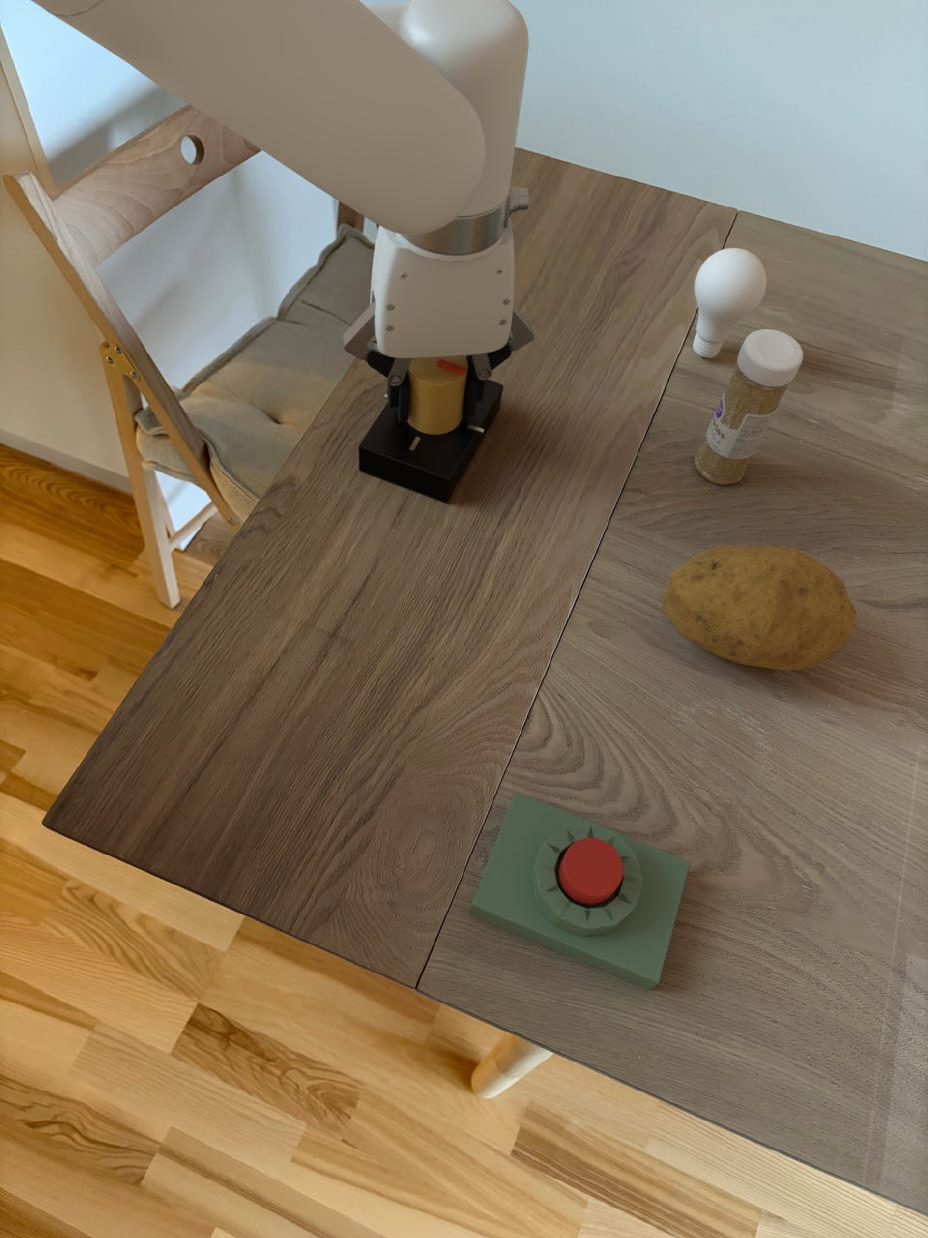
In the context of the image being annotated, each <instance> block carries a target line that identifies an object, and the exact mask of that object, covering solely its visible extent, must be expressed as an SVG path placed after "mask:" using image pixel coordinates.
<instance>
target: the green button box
mask: <svg viewBox="0 0 928 1238" xmlns="http://www.w3.org/2000/svg"><path fill="white" fill-rule="evenodd" d="M584 838H596V839H600V840H603V841H605V842H607V843H608V844H610V845H611V846H612V847H613V848H614V849H615V850H616V851H617V853H618V854H619V856H620V858H621V861H622V865H623V876H622V880H621V882H620V884H619V886H618V887H617V889H616V890H615V891H614V893H613V894H612V895H611V896H610V897H609V898H608V899H607V900H606V901H604V902H602V903H599V904H595V905H587V904H582V903H579V902H577V901H575V900H574V899H572V898H571V897H570V896H569V895H568V894H567V893H566V892H565V890H564V889H563V887H562V885H561V882H560V878H559V867H560V864H561V861H562V859H563V857H564V856H565V854H566V852H567V850H568V849H569V847H570V846H571V845H572V844H573V843H575V842H576V841H578V840H581V839H584ZM690 865H691V861H689V860H687V859H685V858H682V857H679V856H677V855H675V854H672V853H669V852H667V851H664V850H662V849H660V848H657V847H655V846H652V845H649V844H648V843H645V842H642V841H640V840H637V839H635V838H632V837H630V836H627V835H625V834H623V833H619V832H618V831H616V830H613V829H611V828H609V827H606V826H604V825H601V824H599V823H596V822H593V821H590V820H587V819H584V818H582V817H579V816H578V815H574V814H572V813H569V812H567V811H565V810H562V809H560V808H557V807H554V806H552V805H549V804H547V803H544V802H542V801H539V800H538V799H534V798H532V797H529V796H528V795H525V794H522V793H519V792H517V791H515V792H514V793H513V795H512V798H511V801H510V803H509V806H508V808H507V811H506V813H505V817H504V818H503V822H502V824H501V827H500V829H499V832H498V835H497V837H496V840H495V842H494V845H493V847H492V849H491V853H490V855H489V858H488V860H487V863H486V865H485V868H484V871H483V873H482V875H481V878H480V881H479V883H478V885H477V889H476V891H475V894H474V897H473V898H472V901H471V905H470V907H469V911H468V913H467V914H468V916H471V917H473V918H475V919H476V918H477V919H478V920H481V921H483V922H485V923H488V924H490V925H492V926H494V927H497V928H499V929H502V930H504V931H507V932H509V933H512V934H514V935H516V936H518V937H521V938H524V939H526V940H528V941H531V942H533V943H536V944H538V945H540V946H542V947H545V948H547V949H549V950H551V951H554V952H556V953H559V954H561V955H564V956H567V957H569V958H571V959H574V960H576V961H578V962H581V963H583V964H585V965H587V966H590V967H592V968H595V969H597V970H600V971H602V972H604V973H607V974H609V975H611V976H613V977H616V978H619V979H621V980H623V981H626V982H629V983H631V984H632V985H635V986H638V987H641V988H642V989H645V990H647V991H651V990H653V988H655V987H656V986H657V985H658V984H659V983H660V980H661V976H662V972H663V970H664V966H665V961H666V957H667V955H668V950H669V946H670V942H671V939H672V936H673V931H674V927H675V923H676V920H677V915H678V912H679V908H680V904H681V900H682V896H683V892H684V889H685V885H686V881H687V877H688V874H689V869H690Z"/></svg>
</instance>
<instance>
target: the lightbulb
mask: <svg viewBox="0 0 928 1238" xmlns="http://www.w3.org/2000/svg"><path fill="white" fill-rule="evenodd" d="M766 290H767V274H766V270H765V267H764V264H763V263H762V262H761V260H760V259H759V257H757V256H756V255H755V254H753V253H752V252H750V251H748V250H746V249H744V248H741V247H739V248H738V247H728V248H723V249H720V250H718V251H716V252H714V253H712V254H711V255H709V256H708V258H706V260H705V261H704V262H703V263H702V264H701V266H700V268H699V269H698V270H697V273H696V276H695V280H694V296H695V301H696V304H697V307H698V317H697V318H698V319H697V322H696V326H695V332H696V333H695V336H694V340H693V343H692V348H693V349H692V350H694V352H695V354H696V355H698V356H700V357H702V358H706V359H710V358H714V357H716V356H717V355H719V353H720V351H721V348H722V347H723V345H724V342H725V341H726V340H728V338H729V336H730V334H731V333H732V331H733V329H734V328H735V326H736V325H737V324H738V323H739V322H740V321H742V320H743V319H745V318H746V317H747V316H749V315H750V314H751V313H752V312H754V311H755V310H756V309H757V308H758V306H759V305H760V304H761V302H762V301H763V298H764V296H765V294H766Z"/></svg>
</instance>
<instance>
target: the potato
mask: <svg viewBox="0 0 928 1238" xmlns="http://www.w3.org/2000/svg"><path fill="white" fill-rule="evenodd" d="M662 608H663V610H664V612H665V613H666V615H667V617H668V618H669V620H670V622H671V623H672V625H673V627H674V629H675V630H676V631H677V633H678V634H679V636H680V637H682V638H684V640H685V639H686V640H687V641H689V642H690V643H692V644H694V645H696V646H697V647H699V648H701V649H703V650H705V651H707V652H709V653H711V654H713V655H715V656H717V657H719V658H722V659H724V660H727V661H730V662H733V663H735V664H739V665H746V666H752V667H757V668H766V669H772V670H779V671H802V670H805V669H809V668H813V667H816V666H818V665H820V664H823V663H824V662H826V661H827V660H829V659H830V658H831V657H833V656H835V655H836V654H837V653H839V652H841V650H842V649H843V648H844V647H845V646H846V644H847V643H848V641H849V639H850V636H851V634H852V632H853V630H854V627H855V625H856V616H857V615H856V614H857V611H856V609H855V608H854V605H853V604H852V602H851V599H850V597H849V595H848V592H847V589H846V586H845V583H844V581H842V580H841V578H840V577H839V576H838V575H837V574H836V573H835V572H834V571H833V570H832V569H831V568H830V567H828V566H826V565H824V564H823V563H821V562H820V561H818V559H815V558H814V557H812V556H810V555H808V554H806V553H805V552H803V551H801V550H799V549H798V548H795V547H788V546H783V545H777V544H767V545H764V544H763V545H726V546H721V547H715V548H708V549H705V550H704V551H701V552H700V553H699V554H697V555H696V556H694V557H692V558H691V559H689V560H688V561H687V562H684V563H683V564H682V565H680V566H678V567H677V568H676V569H674V570H672V572H671V573H670V576H669V578H668V581H667V584H666V586H665V589H664V592H663V595H662Z"/></svg>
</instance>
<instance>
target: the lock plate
mask: <svg viewBox="0 0 928 1238" xmlns="http://www.w3.org/2000/svg"><path fill="white" fill-rule="evenodd" d="M503 391H504V384H502V383H499V382H496V381H493V380H491V379H487V380H485V387H484V394H483V401H482V402H477V404H476V412H475V417H472V418H468V416H465V412H464V408H463V414H462V420H461V422H460V424H459V425H458V426H457V427H456V428H455V429H454V430H452V431H450V432H448V433H445V434H439V435H431V434H426V433H422V432H420V431H418V430H416V429H414V428H413V427H412V426H411V425H410V424H409V423H408V421H407V420H406V422H401V423H399V419H398V414H397V408H396V407H394V408H389V404H388V401H387V402H386V404H385V405H384V407H383V408H382V410H381V411H380V412H379V415H378V416H377V417H376V419H375V420H374V422H373V424H372V425H371V426H370V428H369V430H368V431H367V433H365V436H364V437H363V439H361V442H360V443H359V445H358V471H359V472H362V473H364V474H367V475H370V476H373V477H375V478H377V479H380V480H383V481H385V482H388V483H391V484H394V485H397V486H399V487H401V488H405V489H407V490H409V491H412V492H415V493H417V494H420V495H423V496H426V497H428V498H431V499H433V500H436V501H439V502H442V503H444V504H448V503H449V501H450V499H451V498H452V496H453V494H454V492H455V491H456V488H457V487H458V485H459V483H460V481H461V480H462V478H463V476H464V474H465V472H466V470H467V469H468V467H469V465H470V464H471V462H472V460H473V458H474V457H475V454H476V453H477V451H478V449H479V447H480V445H481V444H482V442H483V440H484V438H485V437H486V435H487V433H488V431H489V429H490V428H491V426H492V424H493V423H494V421H495V419H496V418H497V415H498V414H499V412H500V411H501V410H500V409H501V403H502V398H503V397H502V396H503ZM383 398H384V399H386V400H388V396H387V393H385V394H384V395H383Z"/></svg>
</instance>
